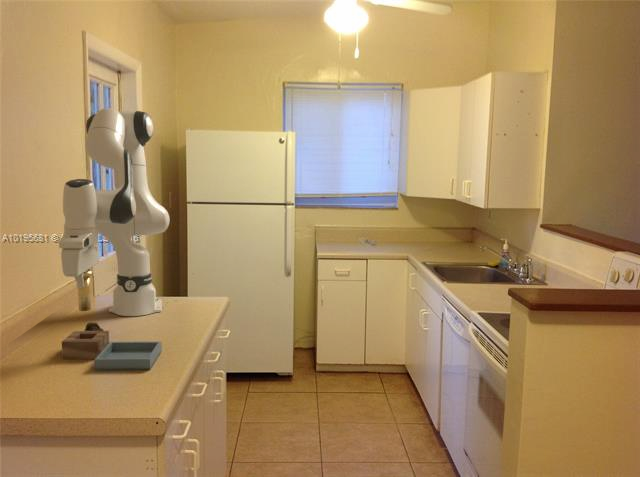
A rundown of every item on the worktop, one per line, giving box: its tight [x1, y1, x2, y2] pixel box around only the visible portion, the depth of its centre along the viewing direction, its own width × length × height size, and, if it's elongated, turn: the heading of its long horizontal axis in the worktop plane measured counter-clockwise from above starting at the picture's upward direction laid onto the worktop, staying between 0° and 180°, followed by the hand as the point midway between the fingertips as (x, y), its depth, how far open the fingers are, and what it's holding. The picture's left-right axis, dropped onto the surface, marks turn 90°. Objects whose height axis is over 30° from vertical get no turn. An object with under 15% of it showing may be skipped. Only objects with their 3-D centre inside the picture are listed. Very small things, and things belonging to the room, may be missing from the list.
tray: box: [94, 341, 163, 371], centre depth 161 cm, size 15×15×3 cm
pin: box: [77, 270, 93, 312], centre depth 164 cm, size 5×5×11 cm
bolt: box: [83, 322, 105, 331], centre depth 179 cm, size 6×5×15 cm
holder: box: [61, 330, 110, 360], centre depth 167 cm, size 10×10×5 cm
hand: (83, 285), depth 164 cm, fingers closed on pin, 3 cm apart
